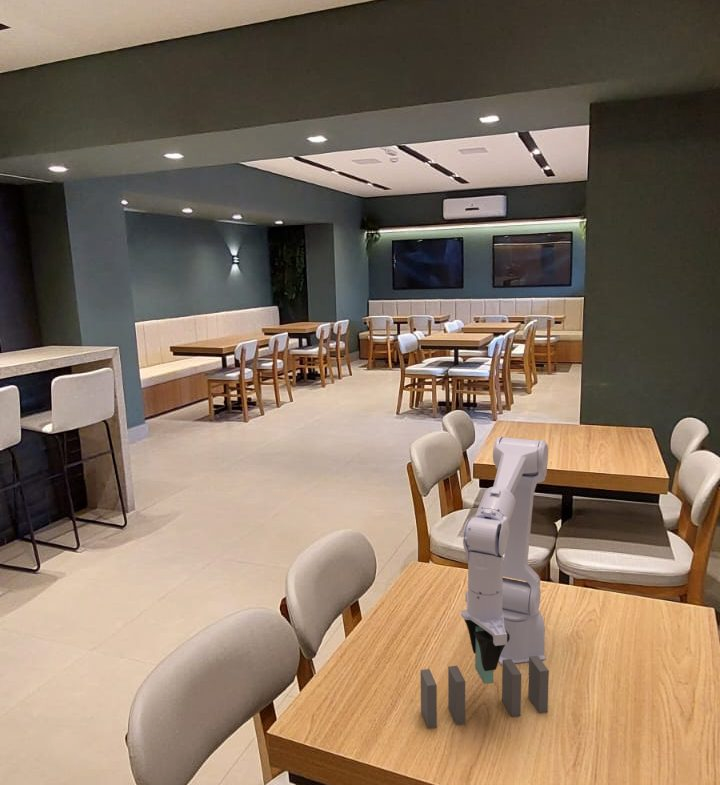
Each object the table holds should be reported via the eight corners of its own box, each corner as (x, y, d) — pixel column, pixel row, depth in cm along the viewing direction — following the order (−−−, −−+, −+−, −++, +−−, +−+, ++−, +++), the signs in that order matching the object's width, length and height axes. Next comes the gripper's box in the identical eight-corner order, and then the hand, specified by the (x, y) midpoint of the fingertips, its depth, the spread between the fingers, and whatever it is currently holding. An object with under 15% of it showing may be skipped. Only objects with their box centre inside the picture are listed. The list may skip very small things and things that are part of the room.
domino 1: (429, 710, 108) (429, 668, 107) (436, 727, 104) (436, 684, 102) (420, 711, 108) (420, 670, 106) (427, 728, 103) (427, 685, 102)
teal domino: (483, 667, 108) (484, 625, 107) (493, 682, 104) (493, 639, 103) (475, 668, 108) (475, 626, 107) (484, 683, 104) (484, 640, 102)
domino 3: (510, 699, 110) (511, 658, 109) (520, 715, 106) (521, 673, 105) (501, 700, 110) (502, 659, 109) (511, 717, 106) (512, 674, 104)
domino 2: (456, 706, 109) (457, 665, 107) (465, 723, 104) (465, 681, 103) (448, 707, 108) (448, 666, 107) (456, 724, 104) (456, 682, 103)
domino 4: (536, 695, 111) (537, 655, 110) (547, 712, 107) (548, 670, 105) (528, 697, 111) (529, 656, 109) (539, 713, 106) (540, 671, 105)
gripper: (449, 570, 110) (449, 639, 112) (477, 611, 96) (476, 689, 98) (486, 566, 111) (486, 635, 113) (520, 606, 97) (518, 684, 99)
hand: (484, 660), depth 106 cm, fingers closed on teal domino, 4 cm apart
